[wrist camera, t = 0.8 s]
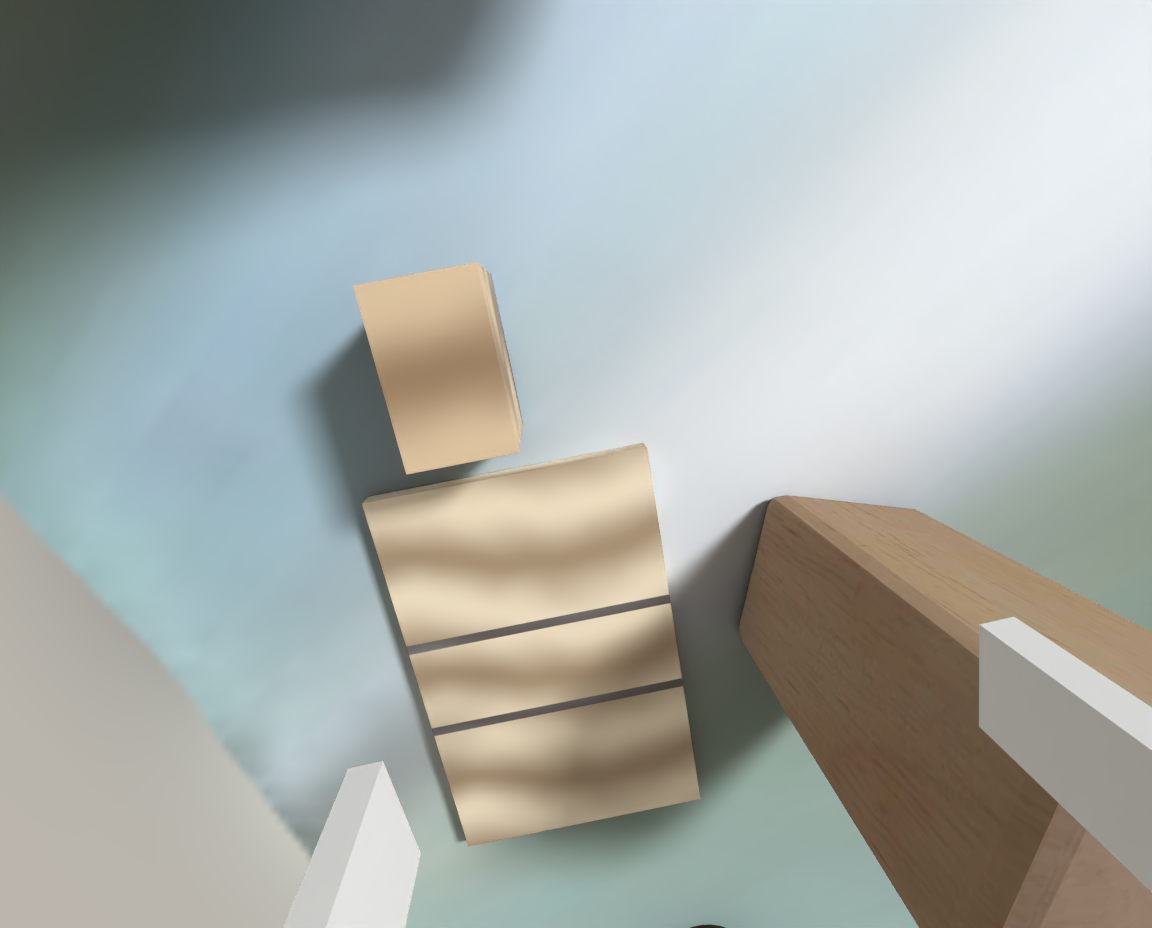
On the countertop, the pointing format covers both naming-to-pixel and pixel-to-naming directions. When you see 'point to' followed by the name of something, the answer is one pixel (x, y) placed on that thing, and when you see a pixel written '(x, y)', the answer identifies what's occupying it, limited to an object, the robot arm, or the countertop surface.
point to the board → (542, 640)
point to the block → (933, 709)
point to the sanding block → (443, 366)
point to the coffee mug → (708, 926)
